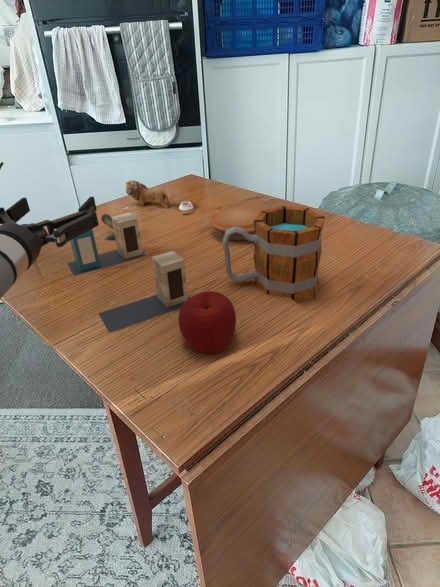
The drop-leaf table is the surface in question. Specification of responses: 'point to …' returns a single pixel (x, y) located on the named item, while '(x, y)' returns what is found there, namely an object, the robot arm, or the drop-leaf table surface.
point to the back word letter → (127, 235)
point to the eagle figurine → (108, 222)
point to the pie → (235, 221)
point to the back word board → (103, 261)
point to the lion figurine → (146, 193)
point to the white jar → (186, 207)
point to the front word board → (135, 313)
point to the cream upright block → (170, 278)
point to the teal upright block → (85, 251)
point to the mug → (283, 252)
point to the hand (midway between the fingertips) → (59, 203)
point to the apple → (207, 322)
